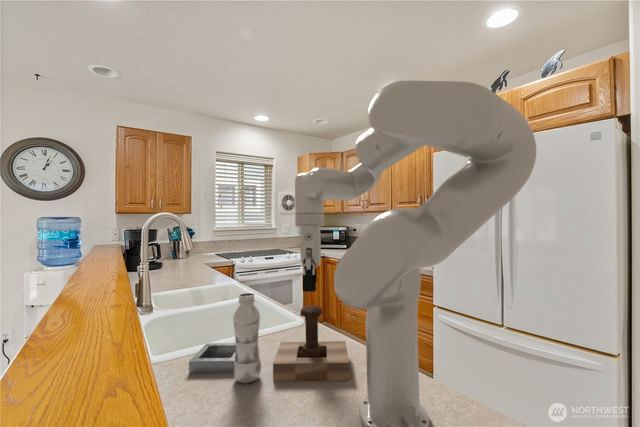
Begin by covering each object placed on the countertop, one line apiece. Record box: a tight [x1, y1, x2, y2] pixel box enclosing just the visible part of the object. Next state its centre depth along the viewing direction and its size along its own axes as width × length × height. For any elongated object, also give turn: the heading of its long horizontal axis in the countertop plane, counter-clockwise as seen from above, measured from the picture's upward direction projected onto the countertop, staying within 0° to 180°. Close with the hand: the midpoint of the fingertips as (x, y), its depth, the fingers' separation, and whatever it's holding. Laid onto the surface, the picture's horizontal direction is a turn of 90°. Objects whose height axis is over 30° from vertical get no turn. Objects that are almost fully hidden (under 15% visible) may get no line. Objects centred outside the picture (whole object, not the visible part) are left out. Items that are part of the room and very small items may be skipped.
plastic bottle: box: [232, 292, 262, 384], centre depth 67 cm, size 6×7×20 cm
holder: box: [188, 342, 236, 375], centre depth 75 cm, size 10×12×3 cm
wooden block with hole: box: [272, 340, 351, 382], centre depth 72 cm, size 12×18×4 cm, turn 89°
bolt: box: [300, 305, 323, 358], centre depth 72 cm, size 6×5×15 cm
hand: (310, 286), depth 72 cm, fingers open, 9 cm apart
